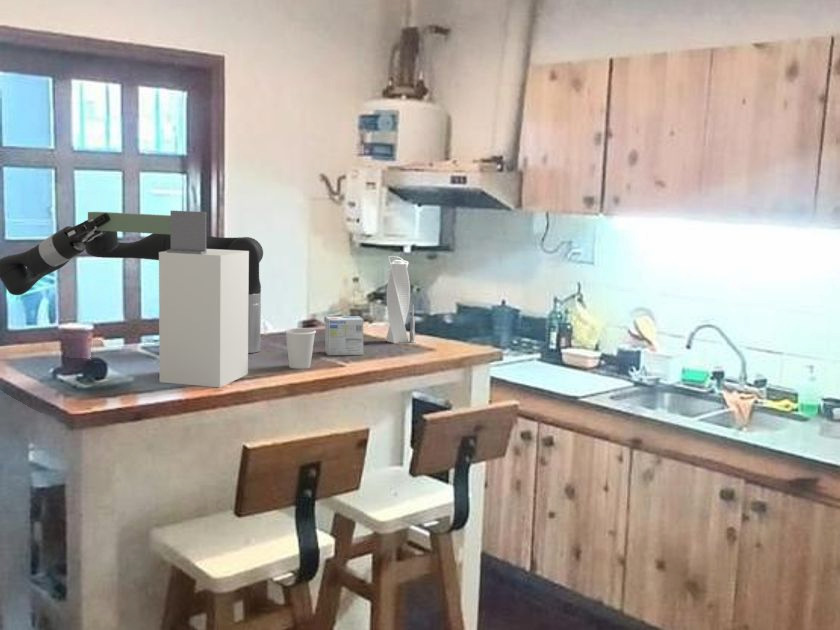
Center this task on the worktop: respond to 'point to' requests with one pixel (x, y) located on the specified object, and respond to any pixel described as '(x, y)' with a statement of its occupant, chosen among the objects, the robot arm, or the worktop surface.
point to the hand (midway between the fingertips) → (113, 216)
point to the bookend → (188, 232)
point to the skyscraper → (399, 303)
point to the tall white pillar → (203, 317)
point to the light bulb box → (344, 335)
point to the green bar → (134, 222)
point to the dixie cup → (300, 347)
